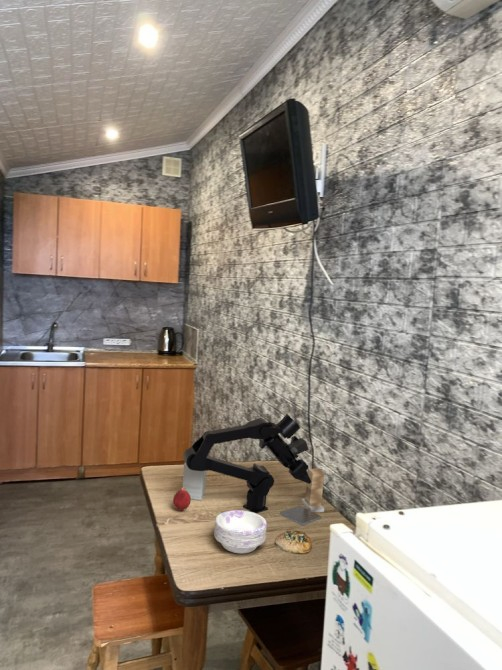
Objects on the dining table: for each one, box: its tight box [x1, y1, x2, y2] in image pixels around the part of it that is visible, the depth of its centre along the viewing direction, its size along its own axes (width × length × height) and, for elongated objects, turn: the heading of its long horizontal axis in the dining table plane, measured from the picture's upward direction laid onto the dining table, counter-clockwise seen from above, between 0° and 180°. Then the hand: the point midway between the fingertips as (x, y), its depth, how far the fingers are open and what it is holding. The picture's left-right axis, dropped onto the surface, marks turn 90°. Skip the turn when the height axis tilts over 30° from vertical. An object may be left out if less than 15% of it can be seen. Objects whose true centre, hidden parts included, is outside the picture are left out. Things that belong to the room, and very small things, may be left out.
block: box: [301, 468, 325, 513], centre depth 179 cm, size 5×9×13 cm, turn 15°
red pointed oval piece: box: [172, 486, 192, 512], centre depth 166 cm, size 6×6×8 cm
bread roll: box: [274, 529, 313, 555], centre depth 150 cm, size 11×11×5 cm
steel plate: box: [279, 505, 322, 527], centre depth 170 cm, size 10×10×1 cm
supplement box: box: [181, 461, 207, 501], centre depth 179 cm, size 7×7×13 cm
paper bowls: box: [213, 509, 268, 554], centre depth 147 cm, size 15×15×8 cm
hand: (305, 477), depth 178 cm, fingers open, 9 cm apart
